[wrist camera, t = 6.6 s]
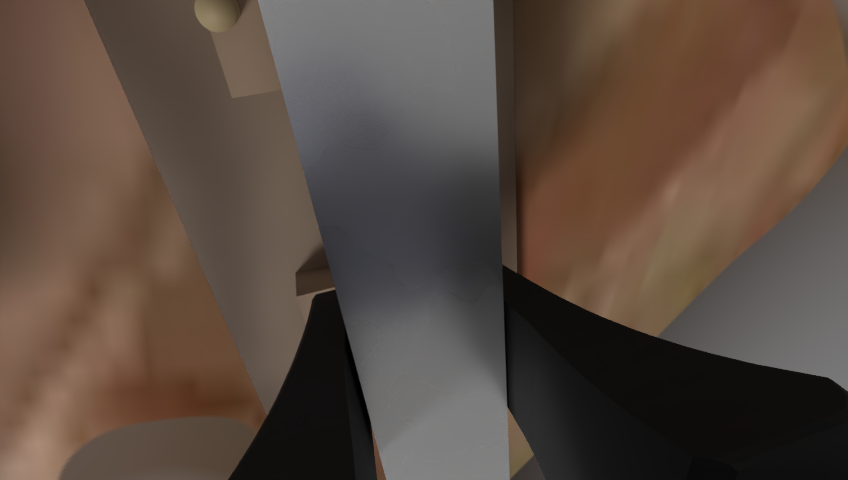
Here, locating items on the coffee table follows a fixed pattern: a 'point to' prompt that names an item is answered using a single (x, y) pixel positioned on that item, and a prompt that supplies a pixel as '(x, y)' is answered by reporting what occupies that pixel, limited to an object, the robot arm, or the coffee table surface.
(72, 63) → the coffee table surface
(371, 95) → the steel bar
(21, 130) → the coffee table surface
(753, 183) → the coffee table surface
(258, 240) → the board
